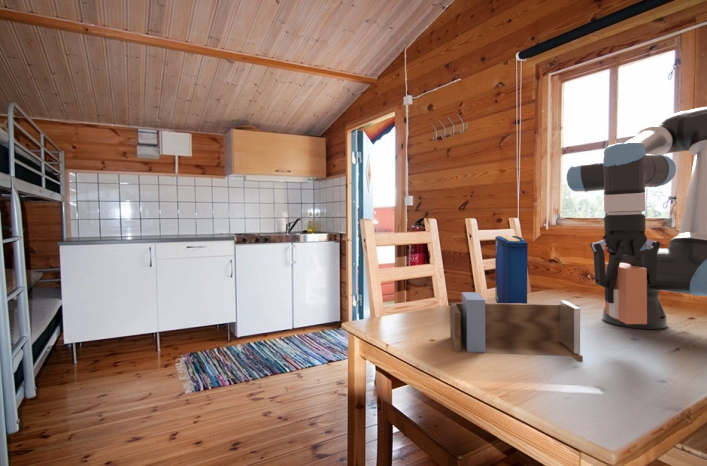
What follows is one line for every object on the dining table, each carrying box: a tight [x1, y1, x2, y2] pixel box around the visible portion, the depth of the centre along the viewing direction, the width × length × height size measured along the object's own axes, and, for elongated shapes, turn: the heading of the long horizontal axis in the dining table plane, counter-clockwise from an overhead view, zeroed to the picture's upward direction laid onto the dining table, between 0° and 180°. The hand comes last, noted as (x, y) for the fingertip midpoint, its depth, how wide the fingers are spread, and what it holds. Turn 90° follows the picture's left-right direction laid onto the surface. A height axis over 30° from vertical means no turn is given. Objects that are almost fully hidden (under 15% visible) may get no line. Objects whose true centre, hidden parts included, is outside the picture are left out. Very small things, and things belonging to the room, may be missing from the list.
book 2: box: [494, 235, 529, 304], centre depth 129 cm, size 22×7×25 cm, turn 168°
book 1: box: [461, 291, 486, 352], centre depth 91 cm, size 4×9×12 cm, turn 171°
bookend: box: [559, 299, 581, 354], centre depth 88 cm, size 1×8×10 cm, turn 171°
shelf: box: [449, 301, 584, 362], centre depth 91 cm, size 27×11×10 cm, turn 81°
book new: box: [604, 262, 647, 324], centre depth 86 cm, size 4×9×12 cm, turn 171°
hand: (625, 316), depth 86 cm, fingers closed on book new, 4 cm apart
